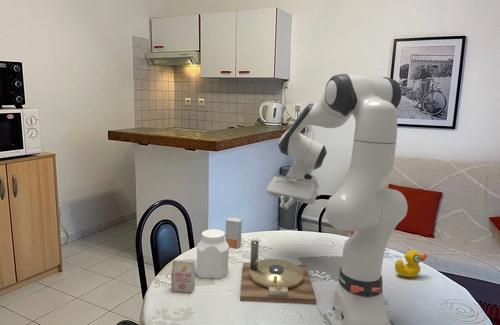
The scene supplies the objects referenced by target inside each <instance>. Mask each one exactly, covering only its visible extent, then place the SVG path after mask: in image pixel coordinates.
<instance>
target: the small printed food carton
mask: <svg viewBox="0 0 500 325" xmlns="http://www.w3.org/2000/svg"><path fill="white" fill-rule="evenodd" d="M171 269H172V270H171V292H172V293H181V294H182V293H183V294H193V292H194V290H195V286H196V281H195V280H196V270H195V262H194V261H189V260H188V261H186V260H176V259H175V260H173V261H172V268H171Z"/></svg>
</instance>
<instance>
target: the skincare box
mask: <svg viewBox="0 0 500 325" xmlns="http://www.w3.org/2000/svg"><path fill="white" fill-rule="evenodd" d="M242 224H243V219H242V218H239V217H238V218H237V217H230V216H229V217H228V218H227V219H226V220H225V240H226V242H227V243H228V245H229V248H234V249H239V248H240V246H241V245H242V228H243V226H242Z"/></svg>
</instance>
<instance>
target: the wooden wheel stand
mask: <svg viewBox="0 0 500 325" xmlns="http://www.w3.org/2000/svg"><path fill="white" fill-rule="evenodd" d="M297 265H298V266H299V267H300V268H301V269H302V270H303V273H304V275H303V282H302V283H301V284H300V285H299V286H297V287H295V288H292V289H288V288H287V287H280V286H276V287H270V286H269V289H267V288H264V287H261V286H259V285H257V284H255V283H254V282H253V281H252V280H251V279H250V277H249V269H250V262H242V272H241V273H242V274H241V281H240V282H241V284H240V292H239V293H240V295H239V300H240V301H242V302H262V303H263V302H266V303H286V304H288V303H289V304H303V305H304V304H306V305H317V296H316V293H315V290H314V286H313V284H312V281H311V277H310V274H309V270H308V266H307V265H306V264H297Z"/></svg>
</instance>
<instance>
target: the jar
mask: <svg viewBox="0 0 500 325" xmlns="http://www.w3.org/2000/svg"><path fill="white" fill-rule="evenodd" d="M225 236H226V232H225V231H223V230H222V229H221V230H220V229H214V228H212V229H205V230H204V231H202V232H201V240H200V241H199V242H198V243H197V246H196V275H197V276H198V277H199V278H201V279H216V280H220V279H223V278H225V277H227V276H228V274H229V255H230V253H229V252H230V247H229V245H228V243H227V242H226V240H225Z"/></svg>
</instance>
